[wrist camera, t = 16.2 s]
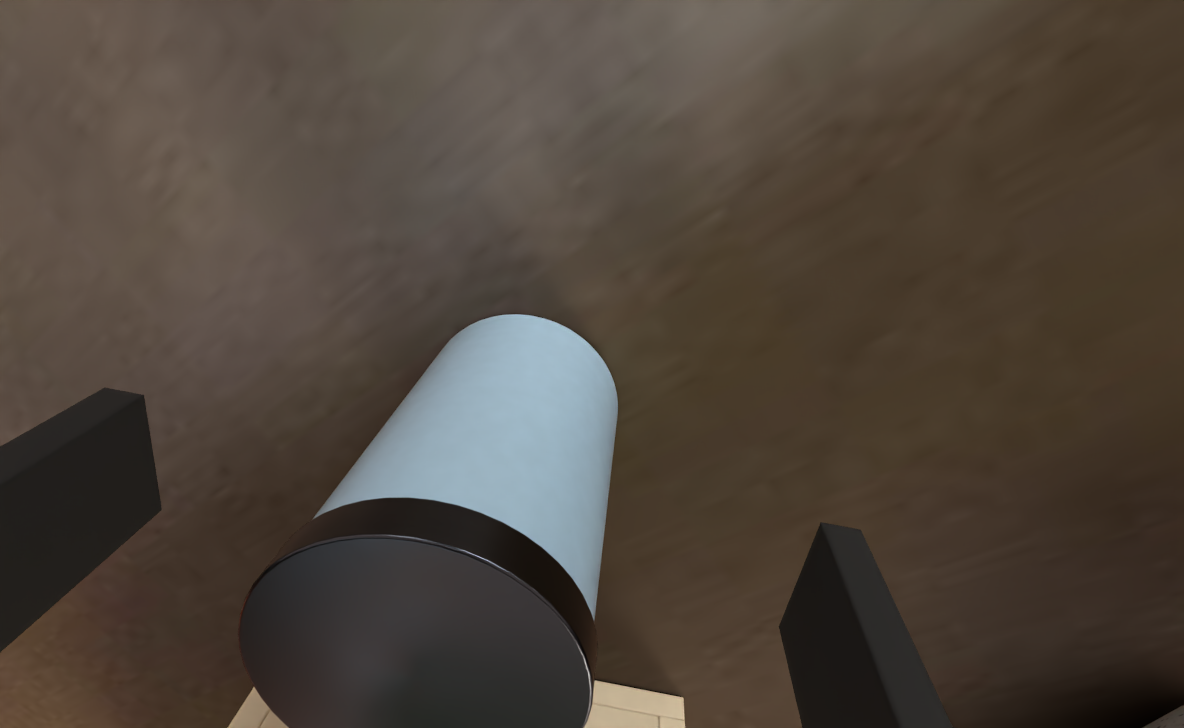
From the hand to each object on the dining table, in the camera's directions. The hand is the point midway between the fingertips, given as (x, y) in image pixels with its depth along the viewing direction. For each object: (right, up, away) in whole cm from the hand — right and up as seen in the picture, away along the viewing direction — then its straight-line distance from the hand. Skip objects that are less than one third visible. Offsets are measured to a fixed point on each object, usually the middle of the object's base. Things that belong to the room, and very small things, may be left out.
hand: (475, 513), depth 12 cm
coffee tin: (+1, +2, +4) cm, 4 cm away
